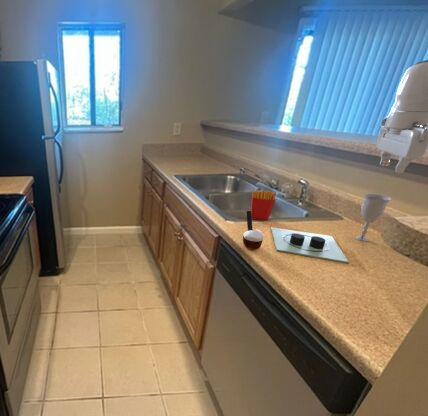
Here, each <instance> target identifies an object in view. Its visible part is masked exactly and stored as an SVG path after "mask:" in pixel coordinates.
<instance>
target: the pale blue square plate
mask: <svg viewBox="0 0 428 416" xmlns="http://www.w3.org/2000/svg"><path fill="white" fill-rule="evenodd" d="M270 230H271V235H272V238H273V239H272V240H273V242H274V247H275V251H276V252H280V253H285V254H286V253H287V254H291V255H298V256H304V257H310V258H314V259H320V260H327V261H332V262H336V263H337V262H338V263H344V264H350V261H349V259H348V258H347V256H346V255H345V253H344V252H343V251H342V249H341V247H340V245H338V243H337V242H336V241H335V239H334V237H333V236H332V235H328V234H320V233H313V232H307V231H300V230H295V229H294V230H292V229H286V228H279V227H273V226H271V227H270ZM294 233H296V234H301V235H303V236H305V239H304V242H303V245H302V246H297V245H293V244H291V243H290V239H291V235H292V234H294ZM313 236H316V237H321V238H323V239H325V240H326V241H325V244H324V247H323V249H316V248H313V247H311V246H310V245H309V244H310V241H311V237H313Z"/></svg>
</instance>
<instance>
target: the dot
mask: <svg viewBox="0 0 428 416" xmlns="http://www.w3.org/2000/svg"><path fill="white" fill-rule="evenodd" d="M325 241H326V240H325V239H323V238H321V237H316V236H313V237H311V241H310V244H309V245H310V246H311V247H313V248H316V249H323V247H324V244H325Z"/></svg>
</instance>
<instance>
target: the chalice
mask: <svg viewBox="0 0 428 416" xmlns="http://www.w3.org/2000/svg"><path fill="white" fill-rule="evenodd" d="M363 198H364V199H363V202H362V204H361V207H360V211H361V213H360V214H361V217H362V220H363V221H364V222H365V224H364V225H362V227H363V229H362V230H361V231H360V232H361V235H357V236H355V237H354V239H355V240H357V241H360V242H369V239H368V238H367V237H366V234H368V229H369V228H370V223H374V222H375V221H377V220H378V219H379V218H380V217H381V216H382V215H383V214H384V213H385V211H386V208H387V205H388V203H389V202H390V201H391V200H392V198H391V197H389V196H386V195H382V194H377V193H364V194H363Z"/></svg>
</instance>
